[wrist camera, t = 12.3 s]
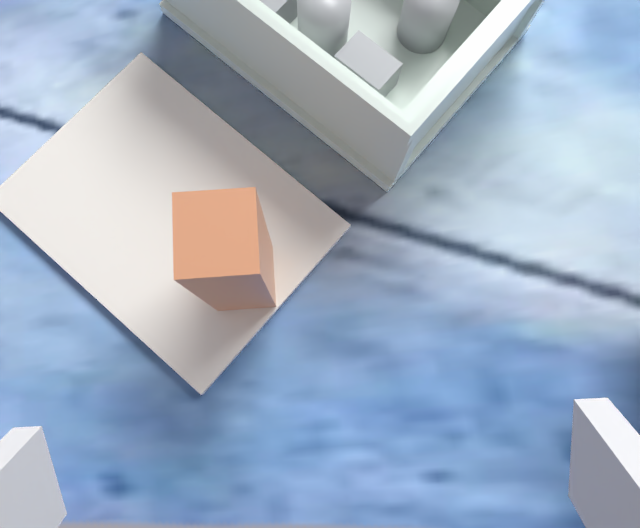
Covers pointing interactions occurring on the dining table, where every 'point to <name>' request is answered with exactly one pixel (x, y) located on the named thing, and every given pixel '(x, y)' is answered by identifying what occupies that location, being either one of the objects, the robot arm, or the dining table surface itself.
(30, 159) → the lid
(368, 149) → the tub
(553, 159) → the dining table surface
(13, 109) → the dining table surface
